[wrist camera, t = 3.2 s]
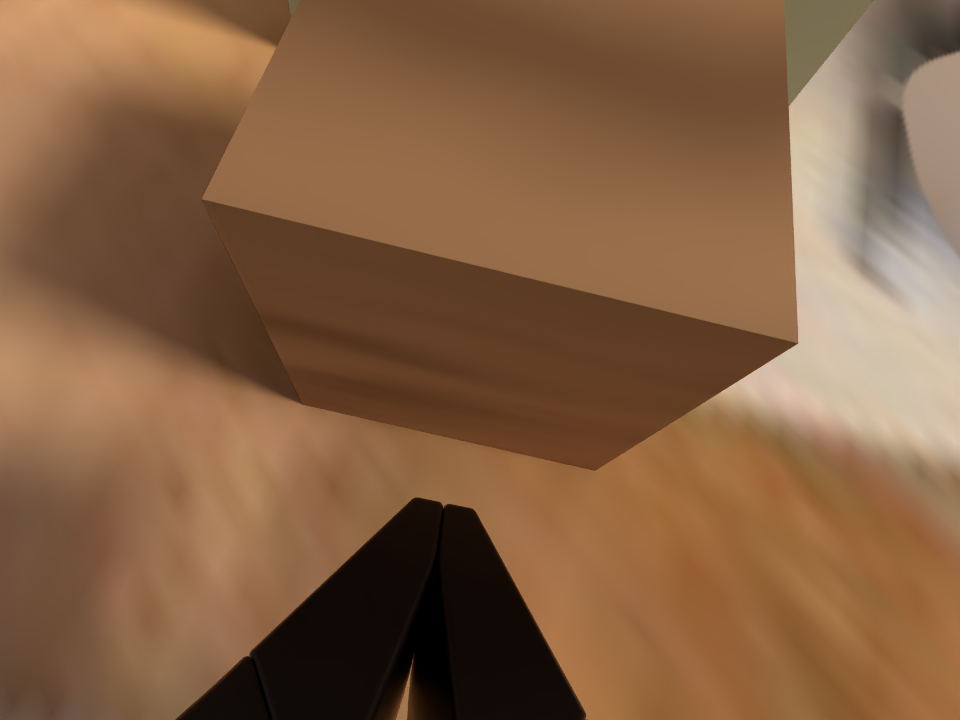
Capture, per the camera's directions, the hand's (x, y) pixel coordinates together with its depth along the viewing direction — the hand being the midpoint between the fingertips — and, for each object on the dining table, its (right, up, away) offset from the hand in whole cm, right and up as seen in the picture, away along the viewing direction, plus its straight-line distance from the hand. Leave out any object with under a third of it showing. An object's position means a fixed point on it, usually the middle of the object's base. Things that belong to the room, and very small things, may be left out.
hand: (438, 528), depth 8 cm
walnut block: (+1, +4, +9) cm, 10 cm away
